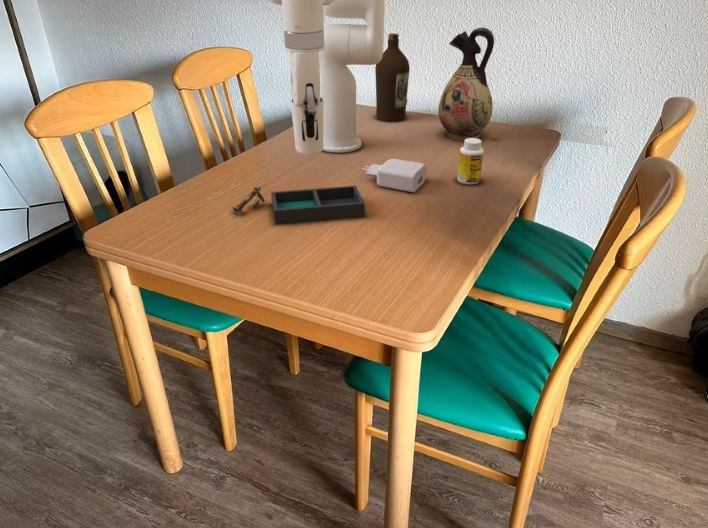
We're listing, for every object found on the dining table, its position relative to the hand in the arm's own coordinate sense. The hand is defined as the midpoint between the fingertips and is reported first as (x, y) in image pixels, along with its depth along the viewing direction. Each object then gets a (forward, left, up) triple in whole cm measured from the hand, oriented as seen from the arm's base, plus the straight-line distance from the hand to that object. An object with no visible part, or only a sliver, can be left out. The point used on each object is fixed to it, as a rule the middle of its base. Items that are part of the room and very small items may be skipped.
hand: (308, 135), depth 118 cm
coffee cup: (0, 0, -3) cm, 3 cm away
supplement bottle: (-10, +40, -17) cm, 45 cm away
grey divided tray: (0, +1, -17) cm, 17 cm away
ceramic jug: (-43, +51, -17) cm, 69 cm away
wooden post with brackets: (-4, -14, -17) cm, 22 cm away
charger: (-13, +21, -17) cm, 30 cm away
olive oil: (-66, +34, -17) cm, 76 cm away
